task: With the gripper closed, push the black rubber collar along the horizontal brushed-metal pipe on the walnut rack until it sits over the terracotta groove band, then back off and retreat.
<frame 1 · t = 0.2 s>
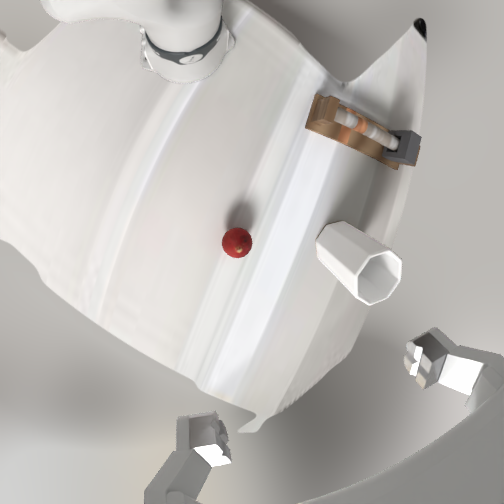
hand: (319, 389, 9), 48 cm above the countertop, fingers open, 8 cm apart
collar: (401, 146, 48), point 7 cm above the countertop, slide at 0.0 cm
cup: (336, 243, 62), on the countertop
pipe rack: (359, 133, 53), on the countertop
onion: (235, 236, 57), on the countertop
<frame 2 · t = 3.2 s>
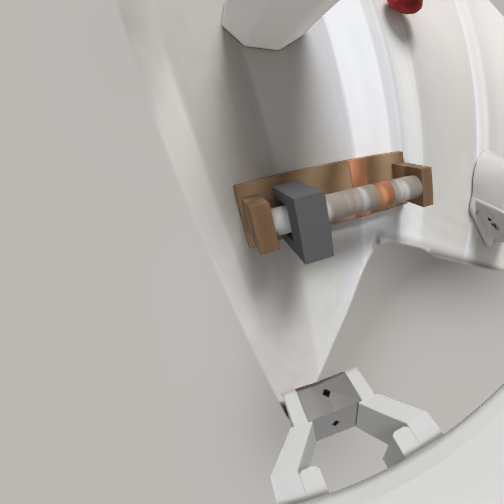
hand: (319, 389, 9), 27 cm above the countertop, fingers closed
collar: (300, 218, 28), point 7 cm above the countertop, slide at 0.0 cm
cup: (263, 17, 25), on the countertop
pipe rack: (331, 192, 35), on the countertop
onion: (390, 5, 25), on the countertop
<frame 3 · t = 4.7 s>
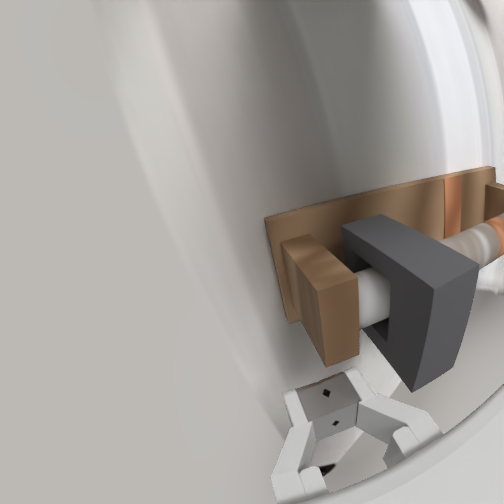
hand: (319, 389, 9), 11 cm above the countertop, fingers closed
collar: (400, 294, 13), point 7 cm above the countertop, slide at 0.0 cm
pipe rack: (415, 227, 20), on the countertop
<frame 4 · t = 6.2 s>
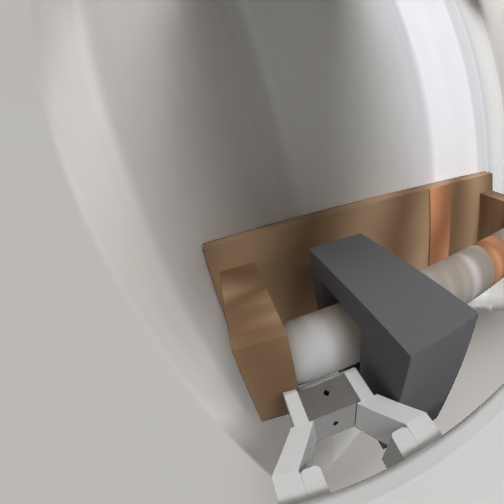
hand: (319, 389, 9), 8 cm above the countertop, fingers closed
collar: (377, 335, 11), point 7 cm above the countertop, slide at 1.1 cm, touching gripper
pipe rack: (394, 247, 18), on the countertop
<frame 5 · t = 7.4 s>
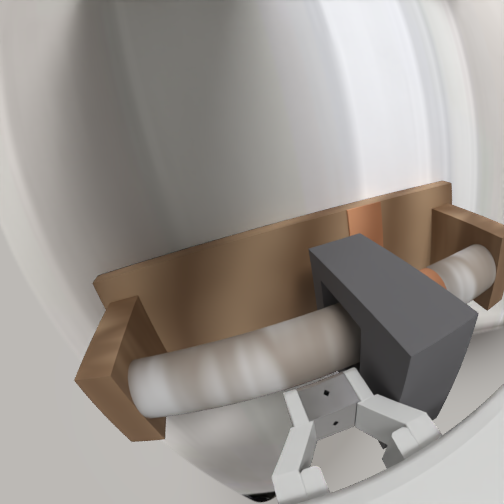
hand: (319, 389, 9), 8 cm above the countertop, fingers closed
collar: (377, 335, 11), point 7 cm above the countertop, slide at 8.1 cm, touching gripper
pipe rack: (306, 277, 17), on the countertop
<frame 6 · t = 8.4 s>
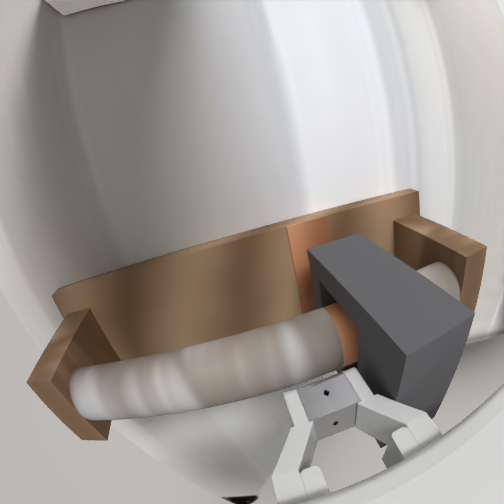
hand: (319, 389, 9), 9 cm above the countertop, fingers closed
collar: (375, 334, 11), point 7 cm above the countertop, slide at 11.7 cm, touching gripper
pipe rack: (250, 293, 17), on the countertop
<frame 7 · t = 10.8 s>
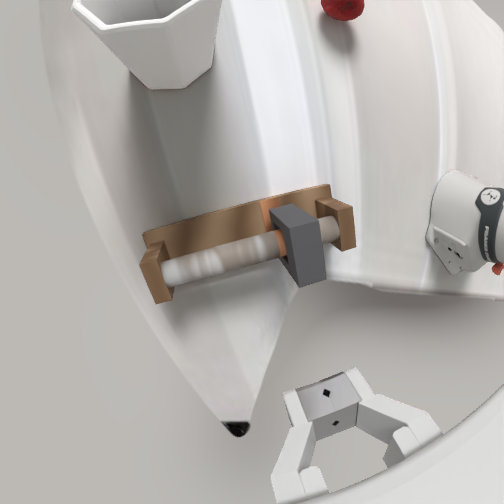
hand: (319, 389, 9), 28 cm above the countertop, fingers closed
collar: (295, 241, 30), point 7 cm above the countertop, slide at 11.9 cm
cup: (171, 53, 26), on the countertop
pipe rack: (243, 234, 36), on the countertop
onion: (330, 12, 26), on the countertop
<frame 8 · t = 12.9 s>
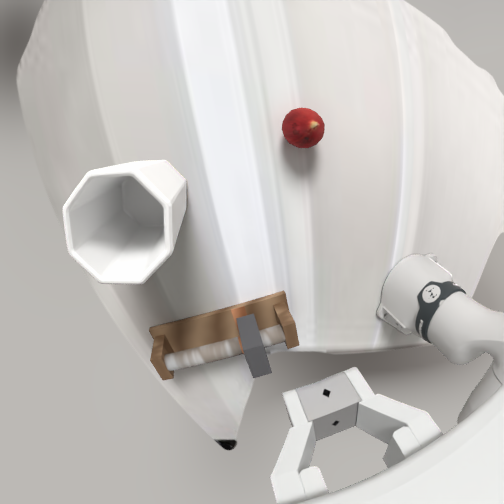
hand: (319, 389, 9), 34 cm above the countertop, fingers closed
collar: (253, 345, 42), point 7 cm above the countertop, slide at 11.9 cm
cup: (152, 195, 38), on the countertop
pipe rack: (221, 328, 48), on the countertop
onion: (294, 129, 38), on the countertop
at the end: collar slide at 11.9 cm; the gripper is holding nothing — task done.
